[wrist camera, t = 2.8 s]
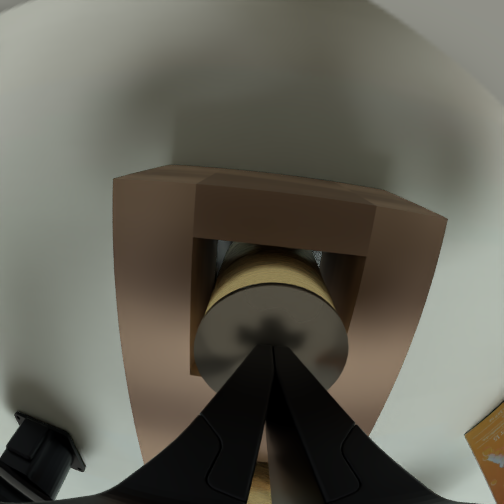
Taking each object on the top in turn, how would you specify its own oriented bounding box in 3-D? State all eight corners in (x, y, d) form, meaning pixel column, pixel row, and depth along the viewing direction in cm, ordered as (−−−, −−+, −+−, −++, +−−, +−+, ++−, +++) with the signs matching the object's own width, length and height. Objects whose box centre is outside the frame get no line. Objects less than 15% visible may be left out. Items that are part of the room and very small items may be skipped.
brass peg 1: (308, 318, 15) (328, 413, 9) (218, 308, 15) (193, 402, 9) (324, 231, 13) (365, 295, 8) (225, 220, 13) (195, 278, 8)
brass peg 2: (276, 476, 16) (277, 562, 10) (206, 469, 16) (192, 555, 10) (289, 437, 14) (294, 540, 9) (207, 429, 14) (188, 532, 9)
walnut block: (312, 446, 20) (319, 514, 14) (173, 433, 20) (154, 500, 14) (383, 189, 14) (447, 218, 9) (170, 164, 14) (112, 178, 9)
